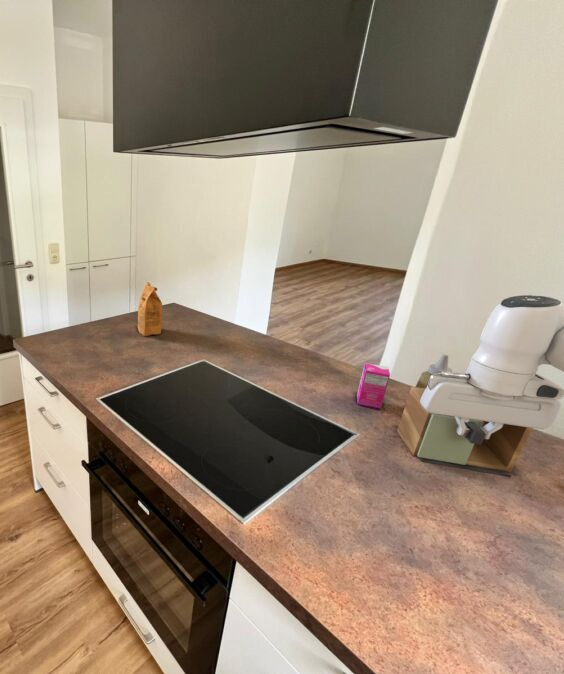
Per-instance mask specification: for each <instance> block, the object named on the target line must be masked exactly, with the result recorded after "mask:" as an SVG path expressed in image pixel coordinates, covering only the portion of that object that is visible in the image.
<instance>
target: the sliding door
mask: <svg viewBox="0 0 564 674" xmlns="http://www.w3.org/2000/svg"><path fill="white" fill-rule="evenodd" d="M464 423H465V425H467V426H468V428H470V429H471V432H470V433H469V436H462V435H459V434H458V433H457V432H456V429H457V426H458V424H457V421H456V419H455V417H451V416H444V415H437V414H432V416H431V419H430V421H429V424H428V427H427V430H426V432H425V435H424V438H423V440H422V443H421V446H420V449H419V451H418V454H417V456H416V457H417V458H420V457H421V458H427V459H433V460H439V461H445V462H451V463H457V464H463V465H465V464H466V462H467V460H468V457H469V455H470V453H471V451H472V448H473V446H474V444H479V445H481V444H482V442H483V440H484V438H485V435H486V433H485V432H484V431H483V430H482V429H481V427H482V425H483V423H484V422H483V421H480V420H473V419H469V421H468V422H464Z"/></svg>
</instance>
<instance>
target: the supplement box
mask: <svg viewBox="0 0 564 674" xmlns="http://www.w3.org/2000/svg"><path fill="white" fill-rule="evenodd" d="M363 365H364V366H363V369H362V374H361V377H360V381H359V386H358V389H357V393H356V402H357V403H356V404H357V406H360V407H364V408H368V409H373V410H377V411H381V410H382V406H383V403H384V398H385V395H386V392H387V389H388V384H389V381H390V378H391V373H390V369H389V366H387V365H379V364H374V363H368V362H365V363H364V364H363Z"/></svg>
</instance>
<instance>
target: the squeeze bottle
mask: <svg viewBox="0 0 564 674" xmlns="http://www.w3.org/2000/svg"><path fill="white" fill-rule="evenodd" d="M441 371H447V372H452V373H453V370H452V368H450V367H449V355H448V354H445V353H444V354H443V353H442V355H441V356H440V357H439V359H438V360H437V362H435V364H434V363H433V364H429V366H428V368H427V370H426V371H424V372H421V374H420V377H419V378H418V381H417V382H416V384H415V386H414V387H417V388H425V389H426V387H427V386H428V382H429V379H430V377H431V376H432V375H434V374H436V373H440V372H441Z"/></svg>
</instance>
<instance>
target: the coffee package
mask: <svg viewBox="0 0 564 674" xmlns="http://www.w3.org/2000/svg"><path fill="white" fill-rule="evenodd" d="M151 285H152V284H151V283H150V282H149V281H146V283H145V285H144V288H143V290H142V293H141V294H140V298H139V303H138V308H137V330H138V332H139V334H140V335H142V336H143V337H148V336H152V335H153V336H154V335H155V336H157V335H161V334H162V325H163V319H162V317H163V302H162V301H161V299H160V297H159V295H158V294H157V291H158V287H156V286H151Z"/></svg>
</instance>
